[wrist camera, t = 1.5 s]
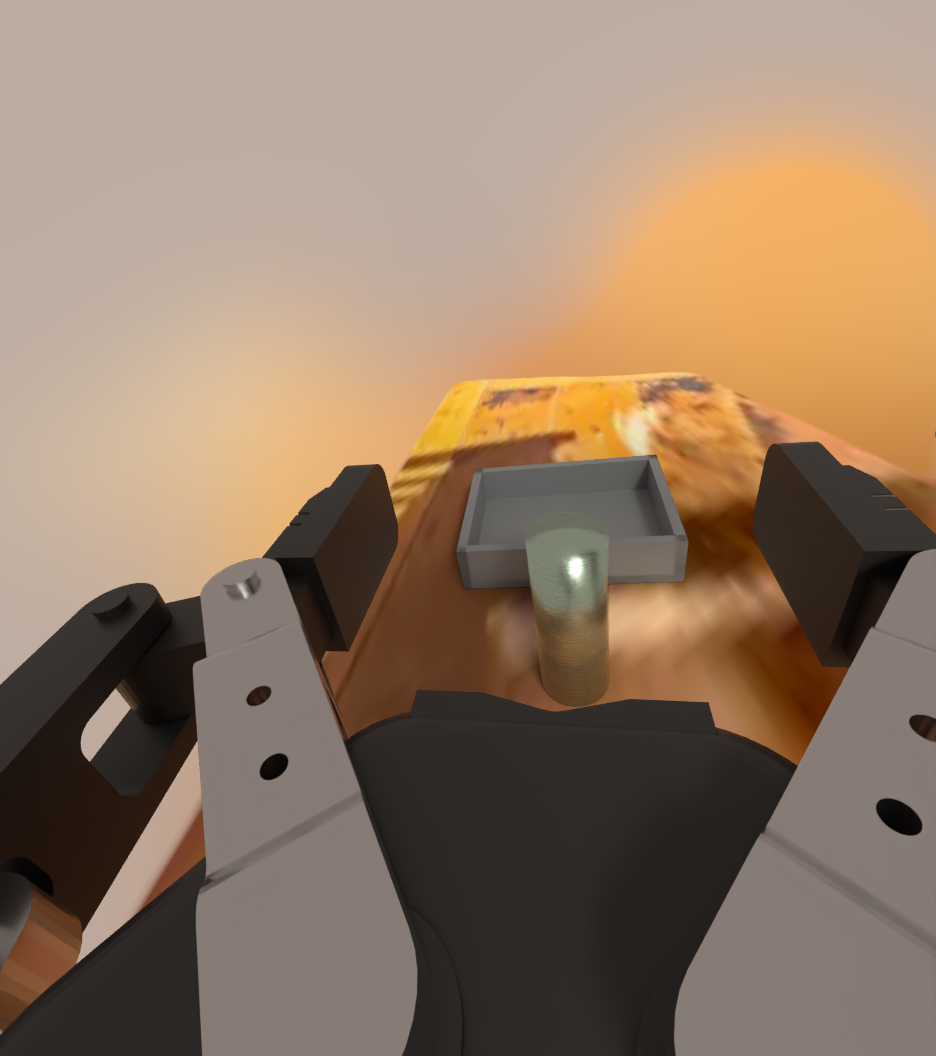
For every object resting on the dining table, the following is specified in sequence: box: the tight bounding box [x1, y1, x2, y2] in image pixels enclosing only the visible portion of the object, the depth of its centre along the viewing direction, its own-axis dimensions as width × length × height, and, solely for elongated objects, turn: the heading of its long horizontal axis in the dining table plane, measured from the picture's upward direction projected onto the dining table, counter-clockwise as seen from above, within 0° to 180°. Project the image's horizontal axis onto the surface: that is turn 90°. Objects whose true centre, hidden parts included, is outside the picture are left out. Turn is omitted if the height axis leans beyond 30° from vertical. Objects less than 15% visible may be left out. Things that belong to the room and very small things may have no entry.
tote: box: [456, 455, 688, 589], centre depth 45 cm, size 18×14×4 cm
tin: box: [525, 512, 609, 707], centre depth 30 cm, size 4×4×12 cm
